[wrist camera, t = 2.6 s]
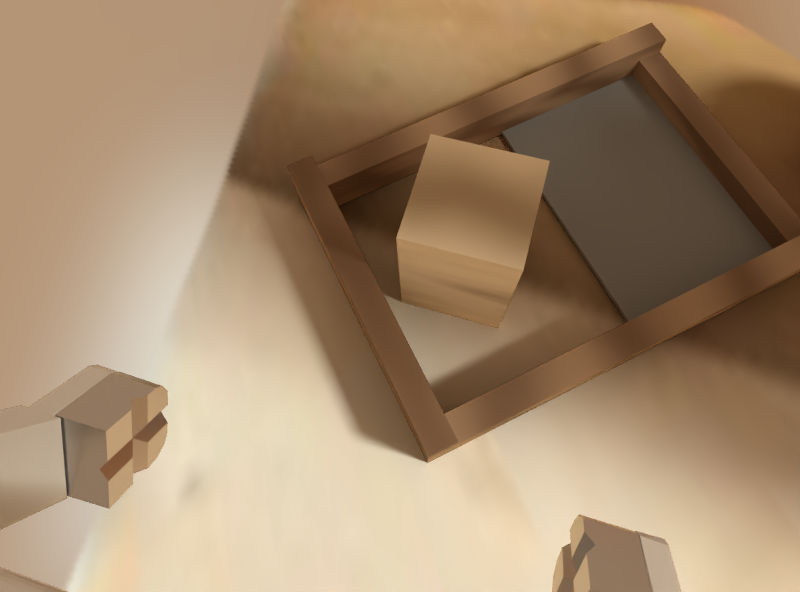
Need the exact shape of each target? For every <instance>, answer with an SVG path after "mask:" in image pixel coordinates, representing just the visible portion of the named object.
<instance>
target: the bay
mask: <svg viewBox="0 0 800 592" xmlns="http://www.w3.org/2000/svg"><path fill="white" fill-rule="evenodd" d="M665 41H666V39H665V38H664V36H663V35H662V34H661V33H660V32H659V31H658V29H657V28H656V27H655V26H654V25H653V24H652V23H650V24H647V25H645V26H643V27H640V28H638V29H636V30H633V31H631V32H629V33H626V34H624V35H621V36H619V37H617V38H614V39H612V40H610V41H607V42H605V43H603V44H600V45H598V46H596V47H593V48H591V49H589V50H586V51H584V52H582V53H579V54H577V55H574V56H572V57H570V58H567V59H565V60H563V61H560V62H558V63H556V64H553V65H551V66H549V67H546V68H544V69H542V70H539V71H537V72H535V73H532V74H530V75H527V76H525V77H523V78H520V79H518V80H516V81H513V82H511V83H509V84H506V85H504V86H502V87H499V88H497V89H495V90H492V91H490V92H488V93H485V94H483V95H480V96H478V97H476V98H473V99H471V100H469V101H466V102H464V103H462V104H459V105H457V106H455V107H452V108H450V109H448V110H445V111H443V112H441V113H438V114H436V115H433V116H431V117H429V118H426V119H424V120H422V121H419V122H417V123H415V124H412V125H410V126H408V127H405V128H403V129H401V130H398V131H396V132H394V133H391V134H389V135H386V136H384V137H382V138H379V139H377V140H375V141H372V142H370V143H368V144H365V145H363V146H361V147H358V148H356V149H354V150H351V151H349V152H347V153H344V154H342V155H339V156H337V157H335V158H332V159H330V160H328V161H325V162H323V163H321V164H318V165H317V164H316V162H315V160H314V158H313V156H310V157H307V158H305V159H302V160H300V161H298V162H295V163H293V164H291V165H288V166H287V168H288V170H289V173H290V175H291V178H292V181H293V183H294V186H295V188H296V191H297V193H298V196H299V199H300V201H301V203H302V205H303V207H304V209H305V211H306V213H307V215H308V217H309V219H310V221H311V223H312V225H313V228H314V230H315V232H316V234H317V236H318V238H319V240H320V242H321V244H322V246H323V248H324V250H325V252H326V254H327V256H328V258H329V261H330V263H331V265H332V267H333V269H334V271H335V273H336V275H337V277H338V279H339V281H340V283H341V285H342V287H343V289H344V291H345V294H346V296H347V298H348V300H349V302H350V304H351V306H352V308H353V310H354V312H355V314H356V316H357V318H358V320H359V322H360V324H361V327H362V329H363V331H364V333H365V335H366V337H367V339H368V341H369V343H370V345H371V347H372V349H373V351H374V353H375V355H376V357H377V360H378V362H379V364H380V366H381V368H382V370H383V372H384V374H385V376H386V378H387V380H388V382H389V384H390V386H391V388H392V390H393V393H394V395H395V397H396V399H397V401H398V403H399V405H400V407H401V409H402V411H403V413H404V415H405V417H406V419H407V421H408V423H409V426H410V428H411V430H412V432H413V434H414V436H415V438H416V440H417V442H418V444H419V446H420V448H421V450H422V452H423V454H424V456H425V459H426V461H427V463H428V462H430V461H432V460H434V459H436V458H438V457H440V456H442V455H444V454H446V453H448V452H450V451H452V450H454V449H456V448H458V447H460V446H462V445H463V444H465V443H467V442H469V441H471V440H473V439H475V438H477V437H479V436H481V435H483V434H485V433H487V432H489V431H491V430H493V429H495V428H497V427H499V426H501V425H503V424H505V423H506V422H508V421H510V420H512V419H514V418H516V417H518V416H520V415H522V414H524V413H526V412H528V411H530V410H532V409H534V408H536V407H538V406H540V405H542V404H544V403H546V402H548V401H549V400H551V399H553V398H555V397H557V396H559V395H561V394H563V393H565V392H567V391H569V390H571V389H573V388H575V387H577V386H579V385H581V384H583V383H585V382H587V381H589V380H591V379H592V378H594V377H596V376H598V375H600V374H602V373H604V372H606V371H608V370H610V369H612V368H614V367H616V366H618V365H620V364H622V363H624V362H626V361H628V360H630V359H632V358H634V357H635V356H637V355H639V354H641V353H643V352H645V351H647V350H649V349H651V348H653V347H655V346H657V345H659V344H661V343H663V342H665V341H667V340H669V339H671V338H673V337H675V336H677V335H679V334H680V333H682V332H684V331H686V330H688V329H690V328H692V327H694V326H696V325H698V324H700V323H702V322H704V321H706V320H708V319H710V318H712V317H714V316H716V315H718V314H720V313H722V312H723V311H725V310H727V309H729V308H731V307H733V306H735V305H737V304H739V303H741V302H743V301H745V300H747V299H749V298H751V297H753V296H755V295H757V294H759V293H761V292H763V291H765V290H766V289H768V288H770V287H772V286H774V285H776V284H778V283H780V282H782V281H784V280H786V279H788V278H790V277H792V276H794V275H796V274H798V273H800V217H799V216H798V215H797V213H796V212H795V211H794V210H793V209H792V208H791V206H790V205H789V204H788V203H787V202H786V201H785V199H784V198H783V197H782V196H781V195H780V193H779V192H778V191H777V190H776V189H775V188H774V186H773V185H772V184H771V183H770V182H769V180H768V179H767V178H766V177H765V176H764V175H763V173H762V172H761V171H760V170H759V169H758V167H757V166H756V165H755V164H754V163H753V162H752V160H751V159H750V158H749V157H748V156H747V154H746V153H745V152H744V151H743V150H742V149H741V147H740V146H739V145H738V144H737V143H736V141H735V140H734V139H733V138H732V137H731V136H730V134H729V133H728V132H727V131H726V130H725V129H724V127H723V126H722V125H721V124H720V123H719V121H718V120H717V119H716V118H715V117H714V116H713V114H712V113H711V112H710V111H709V110H708V108H707V107H706V106H705V105H704V104H703V103H702V101H701V100H700V99H699V98H698V97H697V95H696V94H695V93H694V92H693V91H692V90H691V88H690V87H689V86H688V85H687V84H686V82H685V81H684V80H683V79H682V78H681V77H680V75H679V74H678V73H677V72H676V71H675V69H674V68H673V67H672V66H671V65H670V64H669V62H668V61H667V60H666V59H665V58H664V57H663V55H662V54H661V53H660V50H661V48H662V46H663V44H664V43H665ZM430 134H433V135H438V136H442V137H446V138H451V139H455V140H460V141H464V142H468V143H473V144H477V145H479V144H481V143H483V142H486V141H488V140H490V139H493V138H495V137H497V136H499V135H502V136H503V138H504V139H505V141H506V142H507V144H508V145H509V147H510V148H511V150H512V151H513V153H517V154H521V155H526V156H530V157H535V158H539V159H544V160H548V161H550V162H549V166H548V171H547V175H546V179H545V183H544V187H543V191H542V196H543V198H544V199H545V201H546V202H547V204H548V205H549V207H550V208H551V210H552V211H553V213H554V214H555V216H556V217H557V219H558V220H559V222H560V223H561V225H562V226H563V228H564V229H565V231H566V232H567V234H568V235H569V237H570V238H571V240H572V241H573V243H574V244H575V246H576V247H577V249H578V250H579V252H580V253H581V255H582V256H583V258H584V259H585V261H586V262H587V264H588V265H589V267H590V268H591V270H592V271H593V273H594V274H595V276H596V277H597V279H598V280H599V282H600V283H601V285H602V286H603V288H604V289H605V291H606V292H607V294H608V295H609V297H610V298H611V300H612V301H613V303H614V304H615V306H616V307H617V309H618V310H619V312H620V313H621V315H622V316H623V318H624V319H625V321H626V323H624V324H622V325H620V326H618V327H616V328H614V329H612V330H610V331H608V332H606V333H604V334H602V335H600V336H598V337H596V338H594V339H592V340H590V341H588V342H586V343H584V344H582V345H580V346H578V347H576V348H574V349H572V350H570V351H568V352H566V353H564V354H562V355H560V356H558V357H556V358H554V359H552V360H550V361H548V362H546V363H544V364H542V365H540V366H538V367H536V368H534V369H532V370H530V371H528V372H527V373H525V374H523V375H521V376H519V377H517V378H515V379H513V380H511V381H509V382H507V383H505V384H503V385H501V386H499V387H497V388H495V389H493V390H491V391H489V392H487V393H485V394H483V395H481V396H479V397H477V398H475V399H473V400H471V401H469V402H467V403H465V404H463V405H461V406H459V407H457V408H455V409H453V410H451V411H449V412H447V413H445V414H444V412H443V410H442V408H441V406H440V405H439V403H438V401H437V399H436V397H435V395H434V393H433V391H432V389H431V387H430V385H429V383H428V381H427V379H426V377H425V375H424V373H423V371H422V369H421V367H420V365H419V363H418V361H417V359H416V358H415V356H414V354H413V352H412V350H411V348H410V346H409V344H408V342H407V340H406V338H405V336H404V334H403V332H402V330H401V328H400V326H399V324H398V322H397V320H396V318H395V316H394V314H393V313H392V311H391V309H390V307H389V305H388V303H387V301H386V299H385V297H384V295H383V293H382V291H381V289H380V287H379V285H378V283H377V281H376V279H375V277H374V275H373V273H372V271H371V269H370V268H369V266H368V264H367V262H366V260H365V258H364V256H363V254H362V252H361V250H360V248H359V246H358V244H357V242H356V240H355V238H354V236H353V234H352V232H351V230H350V228H349V226H348V224H347V222H346V221H345V219H344V217H343V215H342V213H341V211H340V209H339V207H338V206H340V205H342V204H344V203H346V202H349V201H351V200H353V199H356V198H358V197H360V196H362V195H365V194H367V193H369V192H372V191H374V190H376V189H378V188H381V187H383V186H385V185H388V184H390V183H392V182H394V181H397V180H399V179H401V178H404V177H406V176H408V175H410V174H413V173H415V172H417V171H419V168H420V165H421V162H422V159H423V156H424V153H425V150H426V147H427V144H428V141H429V138H430Z"/></svg>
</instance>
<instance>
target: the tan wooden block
mask: <svg viewBox="0 0 800 592" xmlns="http://www.w3.org/2000/svg"><path fill="white" fill-rule="evenodd" d="M549 162H550V161H548V160H544V159H539V158H535V157H530V156H526V155H521V154H517V153H513V152H508V151H504V150H499V149H495V148H491V147H486V146H482V145H477V144H473V143H468V142H464V141H460V140H455V139H451V138H446V137H442V136H438V135H433V134H430V138H429V141H428V144H427V147H426V150H425V153H424V156H423V159H422V162H421V165H420V168H419V171H418V174H417V177H416V180H415V183H414V186H413V189H412V192H411V195H410V198H409V201H408V204H407V207H406V210H405V213H404V216H403V219H402V222H401V225H400V228H399V231H398V234H397V237H396V242H397V253H398V265H399V276H400V287H401V299H402V302H403V303H407V304H411V305H415V306H418V307H422V308H426V309H430V310H433V311H437V312H441V313H444V314H448V315H452V316H456V317H459V318H463V319H467V320H470V321H474V322H478V323H482V324H485V325H489V326H493V327H497V328H499V326H500V323H501V321H502V319H503V316H504V314H505V312H506V309H507V307H508V305H509V302H510V300H511V298H512V296H513V293H514V291H515V289H516V286H517V284H518V282H519V279H520V277H521V275H522V272H523V270H524V266H525V262H526V258H527V253H528V249H529V245H530V241H531V237H532V233H533V229H534V224H535V220H536V216H537V212H538V208H539V204H540V200H541V195H542V191H543V187H544V183H545V179H546V175H547V171H548V166H549Z"/></svg>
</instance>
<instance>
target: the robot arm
mask: <svg viewBox="0 0 800 592" xmlns="http://www.w3.org/2000/svg"><path fill="white" fill-rule="evenodd" d="M167 405H168V393H167V390H166V389H165V388H164V387H163V386H160V385H157V384H154V383H151V382H148V381H145V380H142V379H139V378H136V377H134V376H131V375H127V374H125V373H121V372H117V371H114V370H111V369H108V368H105V367H102V366H99V365H92V366H88V367H87V368H85V369H84V370H82V371H81V372H79V373H78V374H77V375H75V376H73V377H72V378H70V379H69V380H68V381H66V382H65V383H63V384H62V385H60V386H59V387H57V388H56V389H55V390H53V391H52V392H50V393H49V394H47V395H46V396H44V397H43V398H42V399H40V400H38V401H37V402H36V403H34V404H33V405H31V406H30V407H25V406H21V405H20V406H16V407H12V408H8V409H4V410H0V529H3V528H5V527H7V526H9V525H11V524H13V523H15V522H17V521H20V520H22V519H24V518H26V517H28V516H30V515H32V514H35V513H37V512H39V511H41V510H43V509H45V508H47V507H50V506H52V505H54V504H56V503H58V502H60V501H62V500H65V499H66V498H67V496H70V497H73V498H76V499H80V500H83V501H86V502H90V503H93V504H96V505H99V506H102V507H106V508H110V507H111V506H112V505H113V504H114V503H115V502H116V501H117V500H118V499H119V498H120V497H121V496H122V495H123V494H124V493H125V492H126V491H127V490H128V488H129V487H130V486H131V485H132V484H133V473H136V472H139V471H141V470H144V469H147V468H148V467H149V466H150V465H151V464H152V463H153V462H154V461H155V459H156V458H157V457H158V455H159V453H160V451H161V449H162V447H163V446H164V443H165V439H166V435H167V424H168V423H167V421H166V419H165V418H164V416H163V414H162V413H161V411H162V410H163V409H164V408H165V407H166V406H167ZM570 538H571V543H570V544H568V545H566V546H564V547H562V549H561V552H560V554H559V557H558V559H557V563H556V567H555V571H554V576H553V587H552V592H682V591H681V587H680V584H679V580H678V577H677V573H676V570H675V566H674V562H673V559H672V555H671V552H670V548H669V544H668V543H667V542H666V541H665V539H662V538H658V537H655V536H651V535H648V534H644V533H641V532H637V531H635V532H634V531H632V530H629V529H625V528H622V527H619V526H615V525H612V524H609V523H605V522H602V521H599V520H595V519H592V518H589V517H586V516H582V515H578V516H577V518H576V519H575V520H574V522H573V524H572V527H571V529H570ZM0 592H68V591H65V590H62V589H59V588H57V587H54V586H51V585H48V584H46V583H43V582H40V581H37V580H34V579H32V578H29V577H26V576H23V575H21V574H18V573H15V572H13V571H10V570H7V569H4V568H2V567H0Z"/></svg>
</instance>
